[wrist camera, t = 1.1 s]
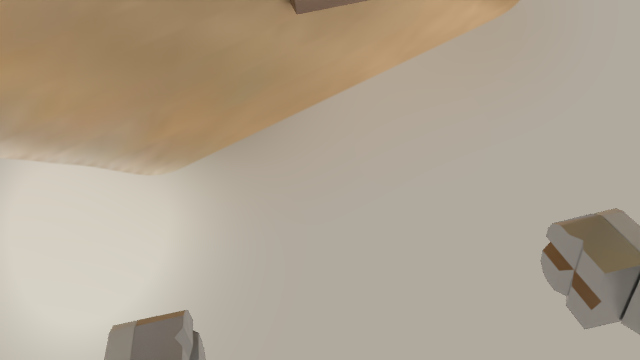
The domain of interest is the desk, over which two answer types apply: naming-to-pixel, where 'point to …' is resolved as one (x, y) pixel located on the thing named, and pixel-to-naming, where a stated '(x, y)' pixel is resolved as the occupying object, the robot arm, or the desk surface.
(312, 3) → the walnut riser
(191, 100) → the desk surface
